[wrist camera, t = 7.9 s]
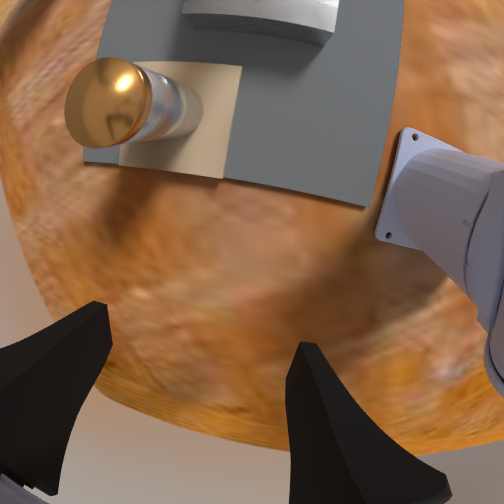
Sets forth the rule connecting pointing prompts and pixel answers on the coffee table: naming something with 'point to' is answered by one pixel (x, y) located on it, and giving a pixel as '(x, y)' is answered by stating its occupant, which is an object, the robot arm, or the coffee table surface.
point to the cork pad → (207, 132)
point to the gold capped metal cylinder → (128, 105)
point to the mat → (284, 92)
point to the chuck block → (266, 18)
